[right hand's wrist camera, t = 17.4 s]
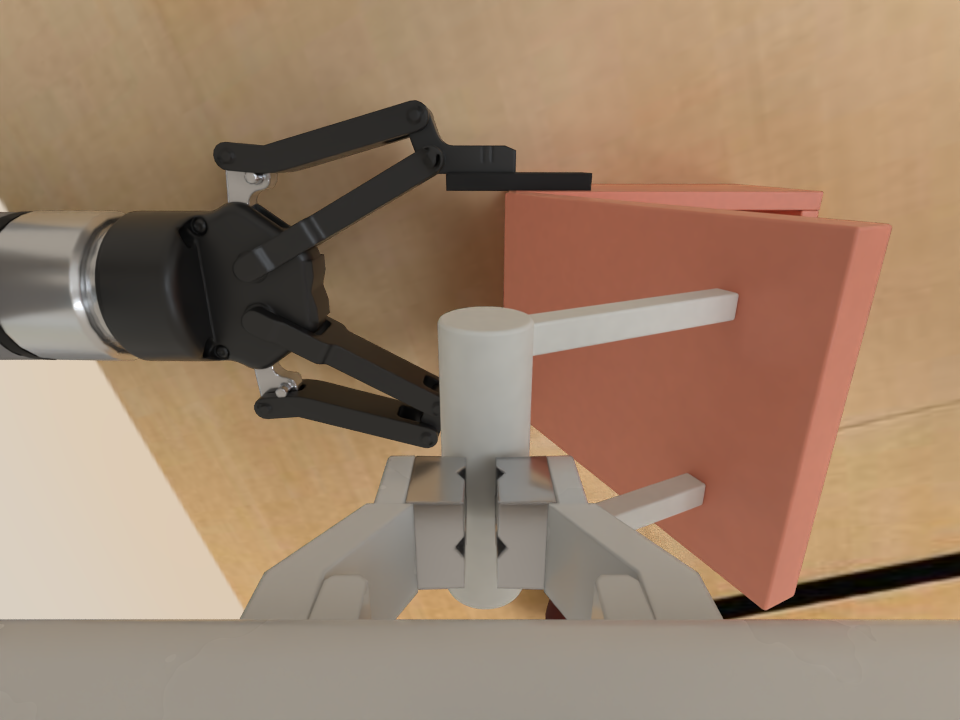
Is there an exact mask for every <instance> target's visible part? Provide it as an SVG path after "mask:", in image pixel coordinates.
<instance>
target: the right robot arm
mask: <svg viewBox="0 0 960 720" xmlns="http://www.w3.org/2000/svg"><path fill="white" fill-rule="evenodd" d="M466 488H467V465H466V457H446V456H416V457H415V456H390V457H389V458H388V460H387V463H386V466H385V469H384V473H383V476H382V479H381V482H380V485H379V489H378V492H377V495H376V498H375V501H374V503H367V504H365V505H364V506H362V507H361V508H359V509H358V510H356V511H355V512H353V513H352V514H350V515H349V516H347V517H346V518H344V519H343V520H341V521H340V522H338V523H337V524H335V525H334V526H332V527H331V528H330V529H328V530H327V531H325V532H324V533H322V534H321V535H319V536H318V537H316V538H315V539H313V540H312V541H310V542H309V543H307V544H306V545H304V546H303V547H301V548H300V549H298V550H297V551H296V552H294V553H293V554H291V555H290V556H288V557H287V558H285V559H284V560H282V561H281V562H279V563H278V564H276V565H275V566H273V567H272V568H270V569H269V570H267V571H266V572H264V574H263V576H262V578H261V580H260V582H259V584H258V586H257V587H256V589H255V591H254V593H253V595H252V597H251V599H250V601H249V602H248V604H247V606H246V608H245V610H244V612H243V614H242V616H241V617H240V619H236V620H235V619H231V620H230V619H226V620H225V619H221V620H220V619H219V620H218V619H208V620H207V619H203V620H202V619H201V620H199V619H195V620H193V619H190V620H189V619H185V620H183V619H179V620H178V619H175V620H173V619H164V620H163V619H120V620H119V619H94V620H93V619H90V620H89V619H88V620H87V619H83V620H82V619H81V620H80V619H75V620H74V619H34V620H33V619H27V620H25V619H18V620H17V619H7V620H5V619H0V720H960V620H863V619H723V618H722V616H721V614H720V612H719V610H718V609H717V607H716V605H715V603H714V601H713V599H712V597H711V595H710V593H709V592H708V590H707V588H706V586H705V584H704V582H703V580H702V578H701V577H700V575H699V573H698V572H696V571H695V570H693V569H692V568H690V567H689V566H687V565H686V564H684V563H683V562H681V561H680V560H678V559H677V558H675V557H674V556H672V555H671V554H669V553H668V552H667V551H665V550H664V549H662V548H661V547H659V546H658V545H656V544H655V543H653V542H652V541H650V540H649V539H647V538H646V537H644V536H643V535H641V534H640V533H638V532H637V531H635V530H634V529H633V528H631V527H630V526H628V525H627V524H625V523H624V522H622V521H621V520H619V519H618V518H616V517H615V516H613V515H612V514H610V513H609V512H607V511H606V510H604V509H603V508H601V507H600V506H598V505H597V504H595V503H588V501H587V498H586V495H585V492H584V489H583V486H582V483H581V480H580V477H579V474H578V471H577V468H576V464H575V461H574V458H573V457H572V456H571V455H566V456H532V457H496V458H495V545H496V575H497V588H502V589H538V590H544V592H545V594H546V595H547V596H548V597H549V598H550V600H551V601H552V602H553V603H554V604H555V606H556V607H557V608H558V609H559V611H560V612H561V613H562V614H563V615H564V617H565V618H566V619H567V620H395V619H396V618H397V617H398V616H399V614H400V613H401V612H402V611H403V610H404V608H405V607H406V606H407V605H408V604H409V602H410V601H411V600H412V599H413V598H414V596H415V595H416V594H417V593H418V590H423V589H458V588H465V571H466V545H467V496H466Z"/></svg>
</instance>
